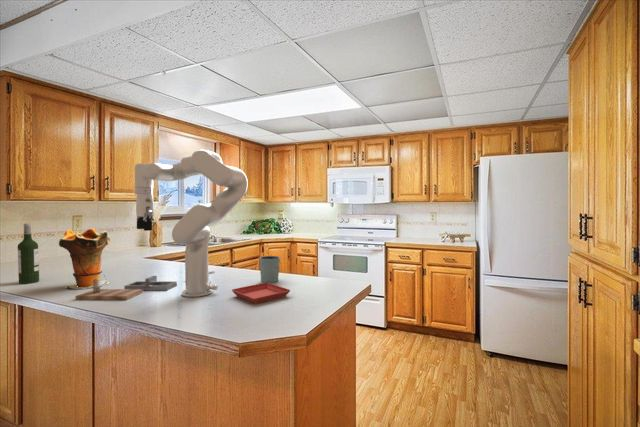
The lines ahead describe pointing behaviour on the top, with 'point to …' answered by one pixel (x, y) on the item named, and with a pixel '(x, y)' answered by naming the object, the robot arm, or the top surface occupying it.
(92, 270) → the decorative vase
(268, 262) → the grey green bin
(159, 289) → the grey rectangular tray
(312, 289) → the top surface
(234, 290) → the plant saucer
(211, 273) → the adjustable wrench
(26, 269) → the wine bottle
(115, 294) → the keeper
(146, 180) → the robot arm
